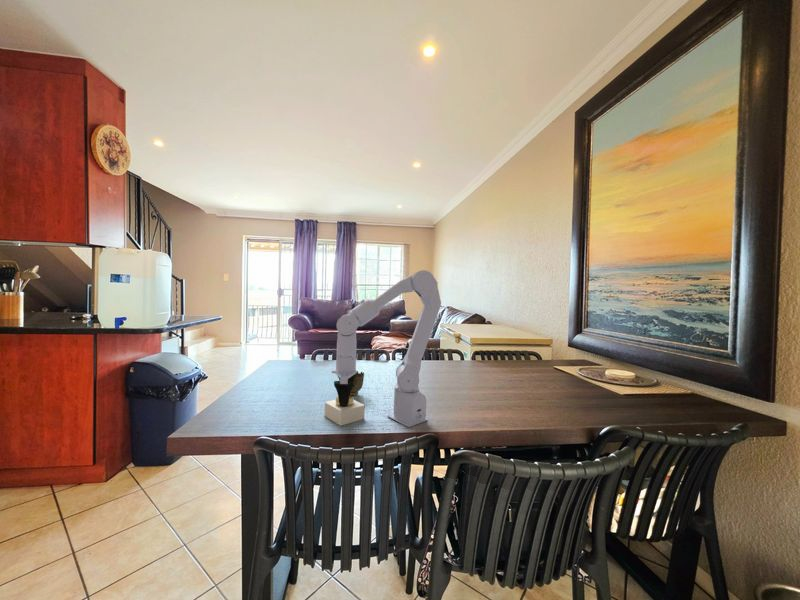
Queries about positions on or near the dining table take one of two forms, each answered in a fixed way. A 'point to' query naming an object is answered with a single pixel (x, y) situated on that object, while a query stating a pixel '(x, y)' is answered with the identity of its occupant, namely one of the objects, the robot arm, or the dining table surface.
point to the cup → (357, 383)
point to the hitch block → (344, 412)
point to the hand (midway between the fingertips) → (344, 401)
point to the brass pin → (350, 403)
